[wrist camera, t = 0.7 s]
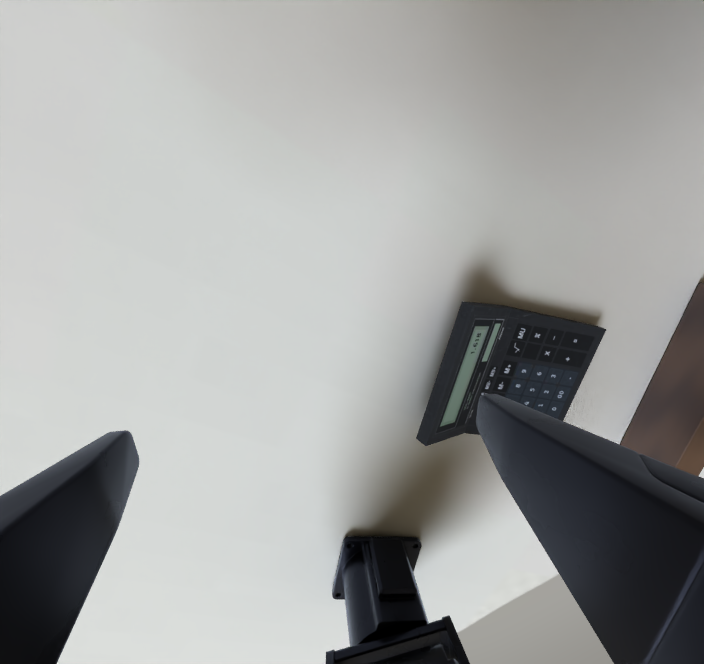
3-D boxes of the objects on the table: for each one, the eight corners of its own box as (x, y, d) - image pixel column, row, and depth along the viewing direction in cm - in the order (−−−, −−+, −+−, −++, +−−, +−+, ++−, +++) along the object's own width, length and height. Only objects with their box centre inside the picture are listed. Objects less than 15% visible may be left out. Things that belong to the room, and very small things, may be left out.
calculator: (544, 437, 27) (572, 463, 24) (406, 418, 24) (419, 445, 22) (596, 325, 24) (635, 340, 21) (446, 293, 22) (467, 304, 19)
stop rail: (627, 478, 30) (674, 517, 26) (603, 477, 29) (648, 516, 25) (725, 287, 25) (802, 301, 21) (698, 282, 24) (771, 295, 20)
